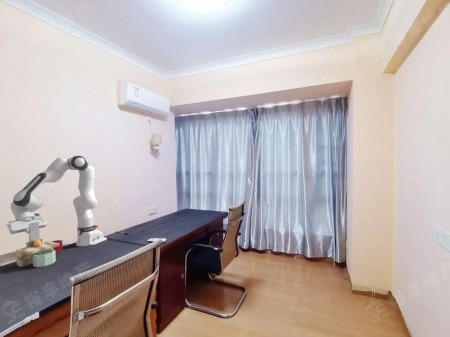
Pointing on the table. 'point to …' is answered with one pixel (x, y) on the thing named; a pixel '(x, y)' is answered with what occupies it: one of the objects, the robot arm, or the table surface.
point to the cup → (44, 258)
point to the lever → (58, 246)
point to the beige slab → (32, 252)
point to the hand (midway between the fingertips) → (32, 234)
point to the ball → (37, 243)
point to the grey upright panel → (33, 234)
